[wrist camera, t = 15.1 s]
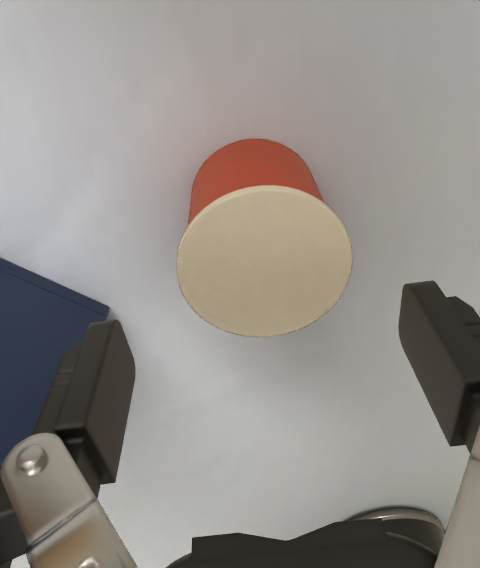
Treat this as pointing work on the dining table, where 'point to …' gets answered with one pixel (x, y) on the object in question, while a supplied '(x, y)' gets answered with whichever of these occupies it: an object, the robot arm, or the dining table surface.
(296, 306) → the plastic tub
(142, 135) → the dining table surface
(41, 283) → the navy blue open box
